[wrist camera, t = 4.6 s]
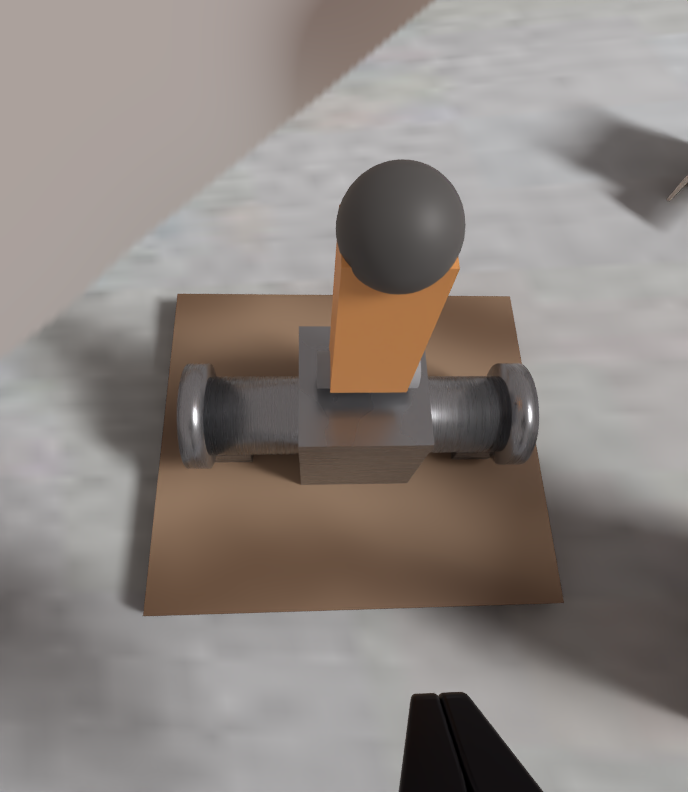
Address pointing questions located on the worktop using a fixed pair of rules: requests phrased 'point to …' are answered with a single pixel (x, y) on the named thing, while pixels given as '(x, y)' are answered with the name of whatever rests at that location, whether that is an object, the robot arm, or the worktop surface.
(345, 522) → the valve board
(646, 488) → the worktop surface
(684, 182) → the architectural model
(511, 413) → the valve
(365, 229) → the valve lever
